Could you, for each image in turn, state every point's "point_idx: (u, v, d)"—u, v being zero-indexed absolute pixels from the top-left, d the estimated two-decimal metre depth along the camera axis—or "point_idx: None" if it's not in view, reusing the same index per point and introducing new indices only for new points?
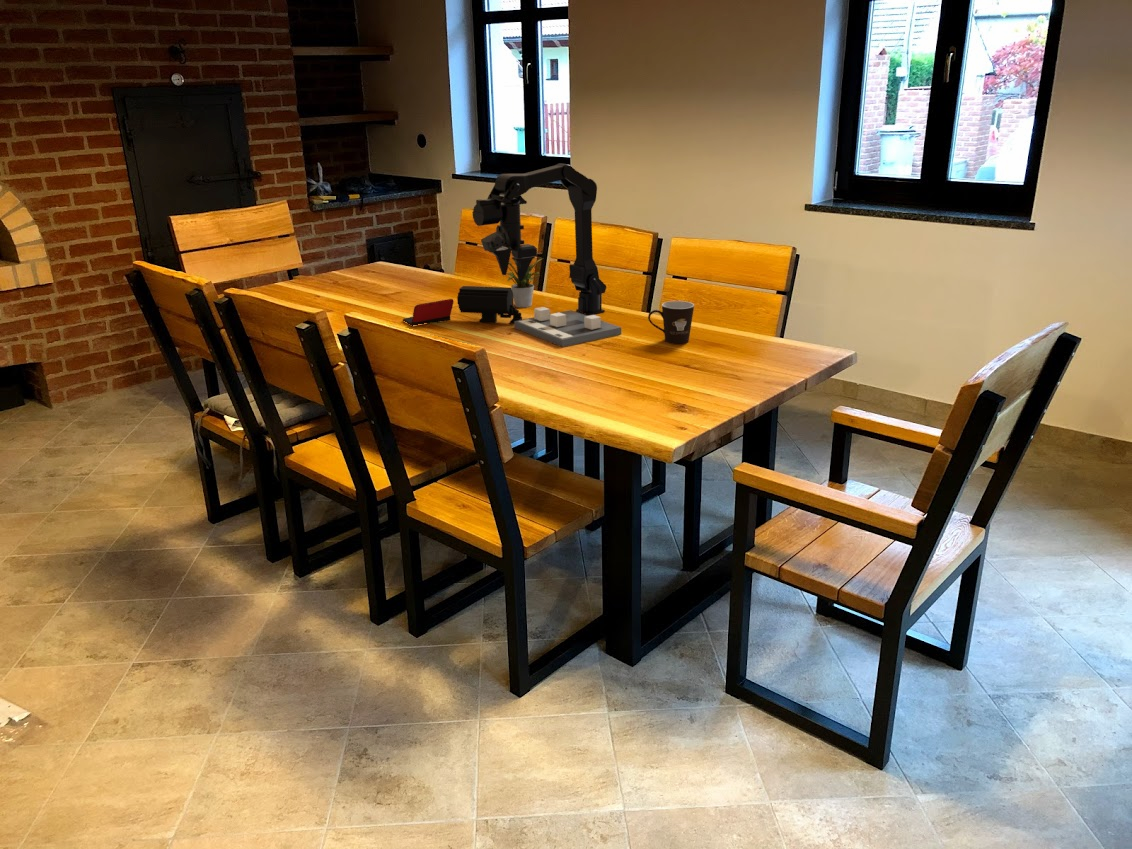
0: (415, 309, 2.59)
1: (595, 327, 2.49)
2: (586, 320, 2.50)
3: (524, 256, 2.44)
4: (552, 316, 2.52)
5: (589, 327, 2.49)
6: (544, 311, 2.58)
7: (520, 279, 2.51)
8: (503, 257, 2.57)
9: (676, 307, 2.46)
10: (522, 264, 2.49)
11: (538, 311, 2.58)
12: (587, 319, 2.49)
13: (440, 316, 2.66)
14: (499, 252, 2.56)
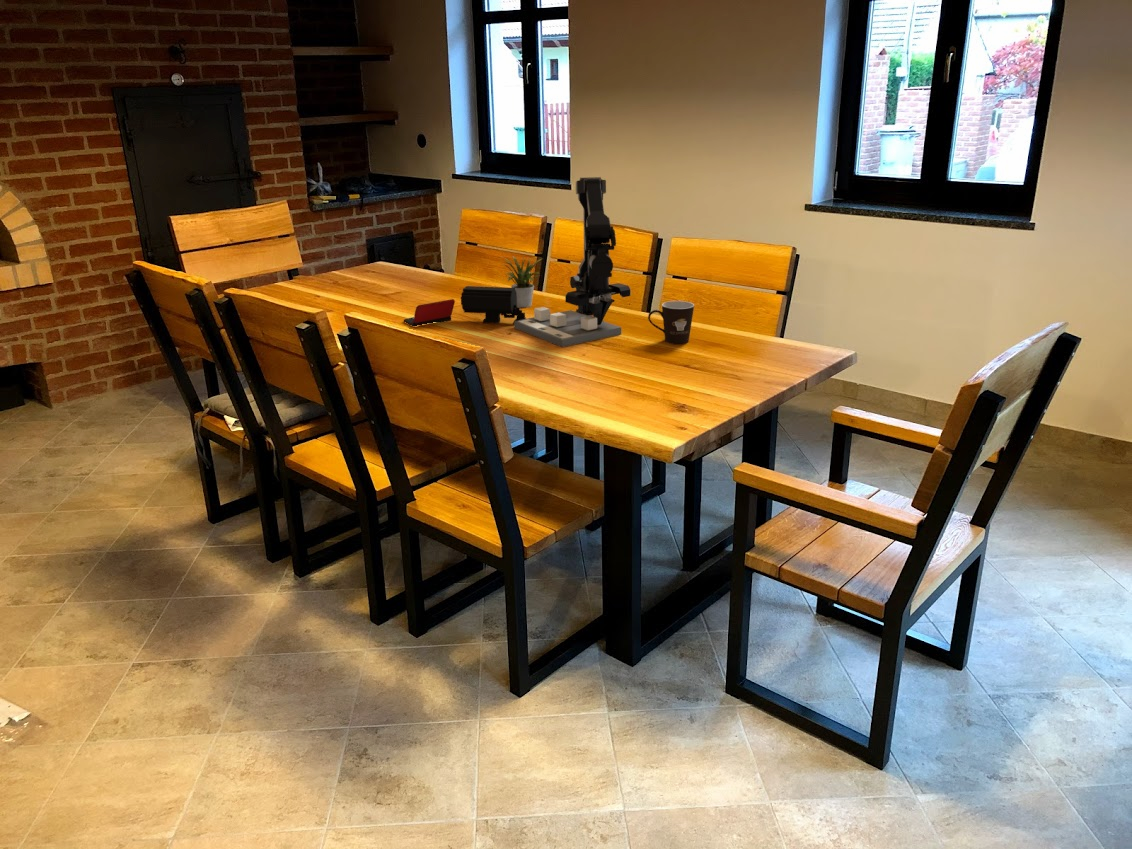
0: (417, 309, 2.58)
1: (592, 328, 2.49)
2: (582, 321, 2.49)
3: (568, 301, 2.45)
4: (552, 316, 2.52)
5: (586, 328, 2.49)
6: (544, 311, 2.58)
7: None
8: None
9: (676, 307, 2.46)
10: (594, 308, 2.49)
11: (538, 311, 2.58)
12: (583, 320, 2.49)
13: (441, 317, 2.66)
14: None
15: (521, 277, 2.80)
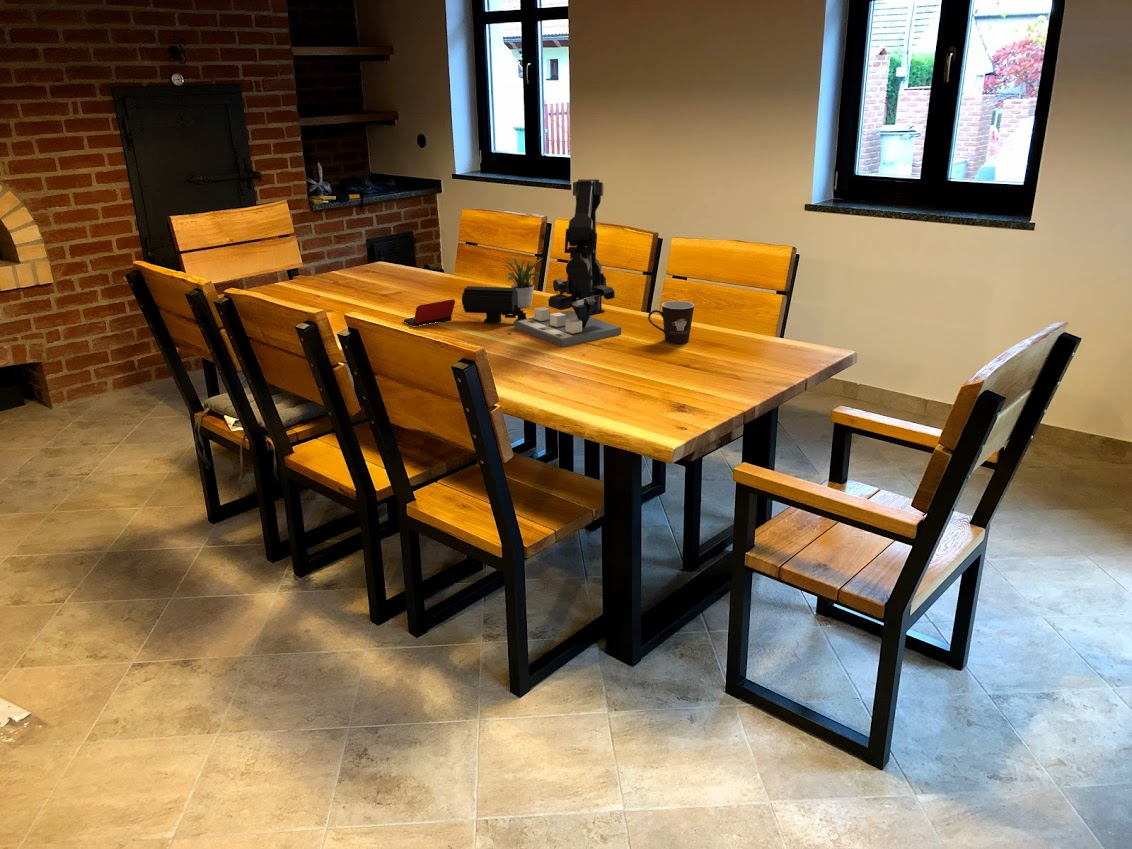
0: (417, 310, 2.58)
1: (576, 331, 2.46)
2: (567, 324, 2.46)
3: (551, 305, 2.42)
4: (552, 316, 2.52)
5: (570, 331, 2.46)
6: (544, 311, 2.58)
7: None
8: None
9: (676, 307, 2.46)
10: (579, 311, 2.46)
11: (538, 311, 2.58)
12: (568, 323, 2.46)
13: (442, 317, 2.66)
14: None
15: (521, 277, 2.80)
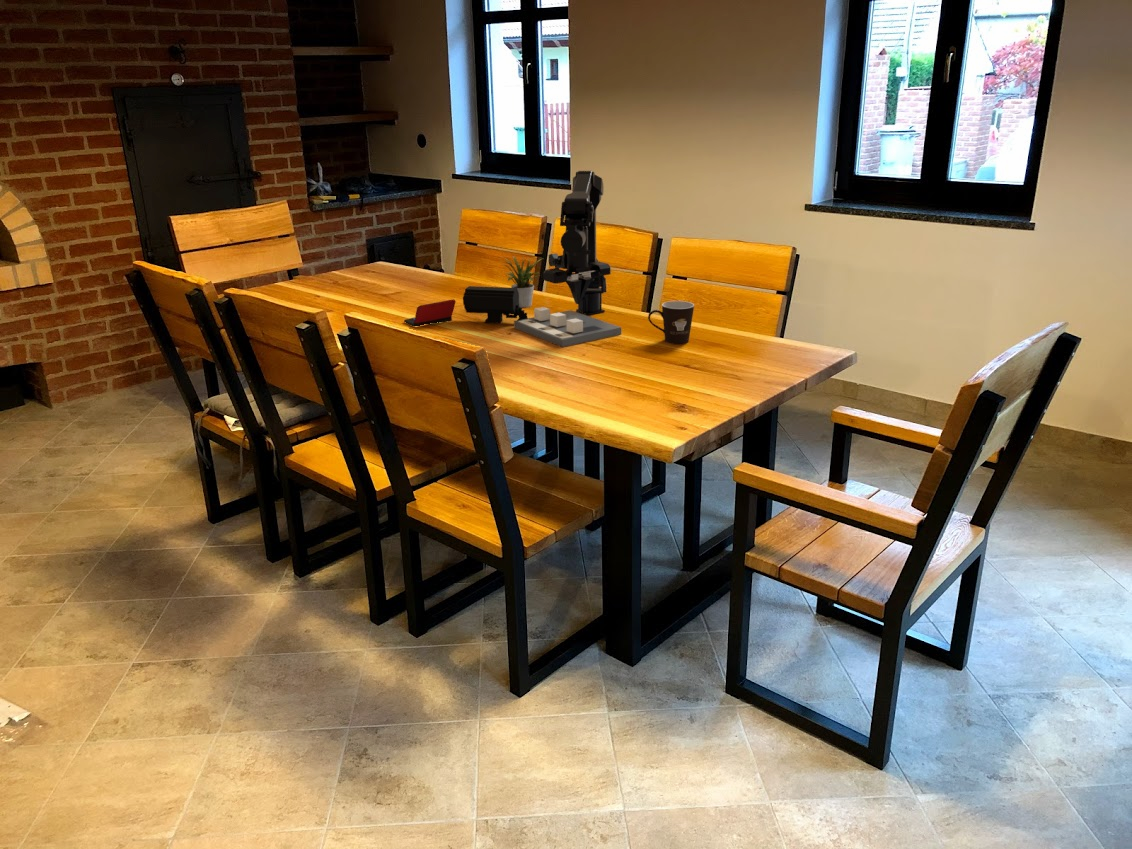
0: (418, 310, 2.58)
1: (577, 331, 2.46)
2: (568, 324, 2.47)
3: (545, 279, 2.39)
4: (552, 316, 2.52)
5: (571, 331, 2.46)
6: (544, 311, 2.58)
7: (575, 301, 2.45)
8: None
9: (676, 307, 2.46)
10: (573, 287, 2.43)
11: (538, 311, 2.58)
12: (569, 323, 2.46)
13: (442, 317, 2.66)
14: None
15: (521, 277, 2.80)
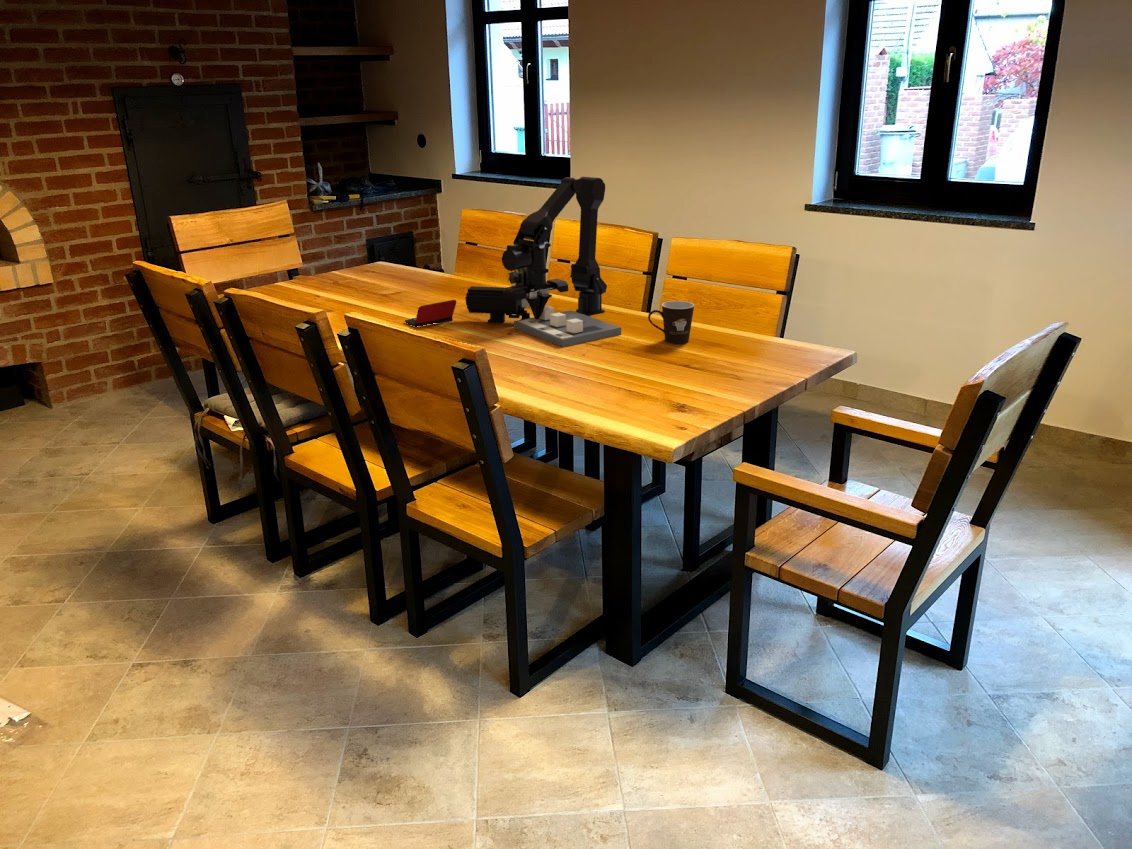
0: (419, 310, 2.57)
1: (577, 331, 2.46)
2: (568, 324, 2.47)
3: (505, 296, 2.52)
4: (552, 316, 2.52)
5: (571, 331, 2.46)
6: (548, 310, 2.58)
7: (534, 317, 2.59)
8: None
9: (676, 307, 2.46)
10: (532, 303, 2.56)
11: None
12: (569, 323, 2.46)
13: (443, 317, 2.65)
14: None
15: None
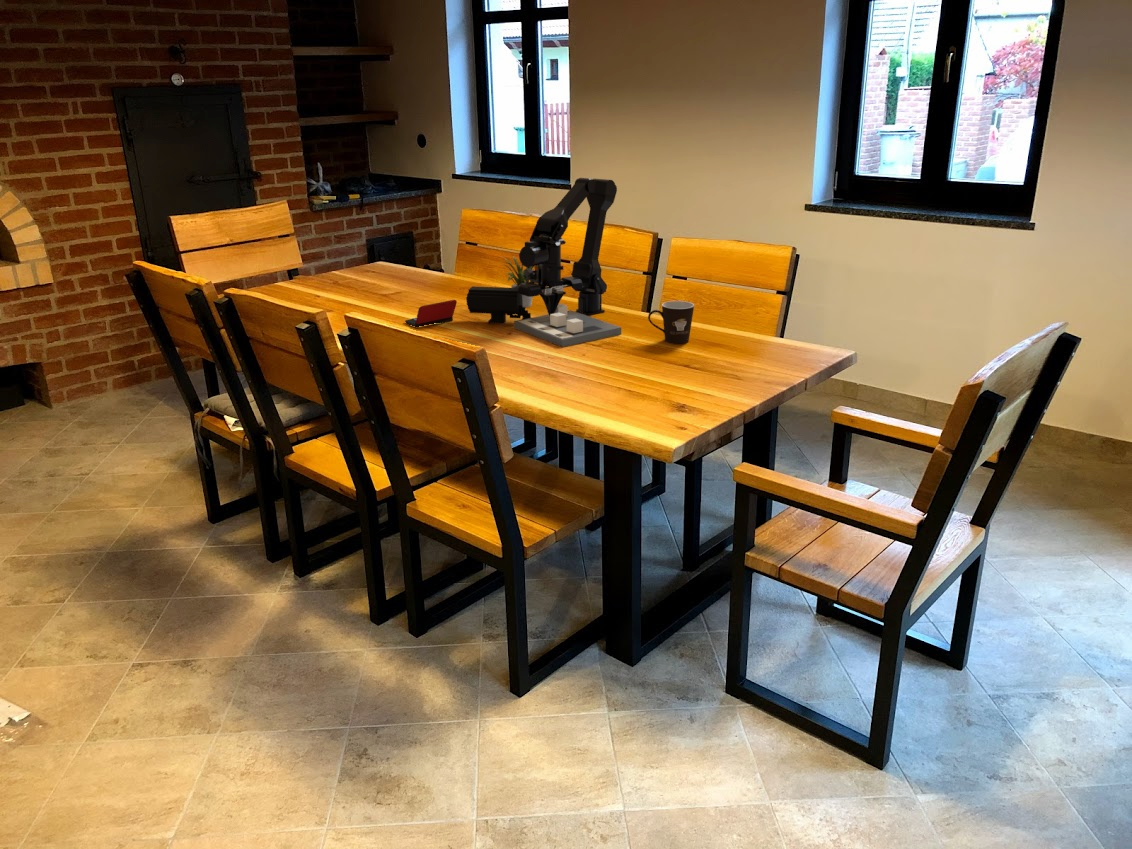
0: (419, 310, 2.57)
1: (577, 331, 2.46)
2: (568, 324, 2.47)
3: (520, 292, 2.55)
4: (552, 316, 2.52)
5: (571, 331, 2.46)
6: (562, 308, 2.61)
7: (549, 313, 2.61)
8: None
9: (676, 307, 2.46)
10: (547, 300, 2.59)
11: (556, 308, 2.61)
12: (569, 323, 2.46)
13: (443, 317, 2.65)
14: None
15: (521, 277, 2.80)
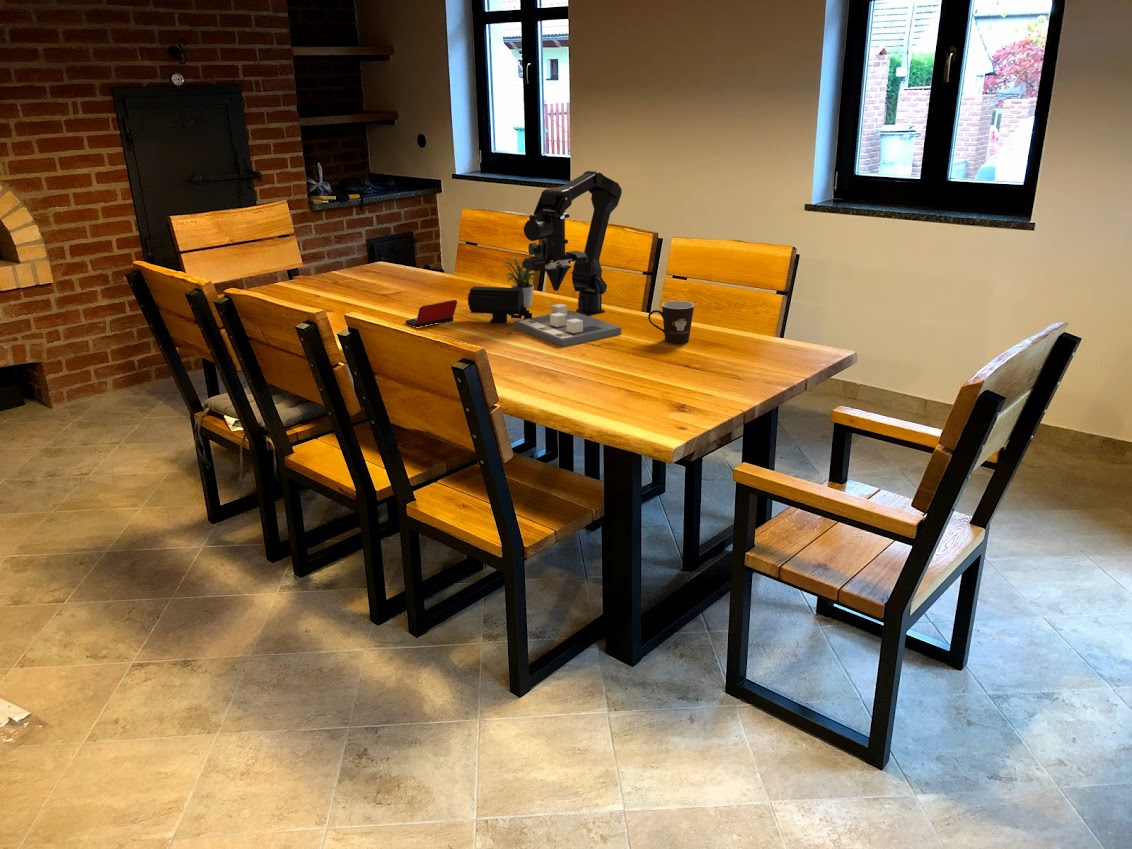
0: (420, 311, 2.57)
1: (577, 331, 2.46)
2: (568, 324, 2.47)
3: (525, 267, 2.53)
4: (552, 316, 2.52)
5: (571, 331, 2.46)
6: (561, 308, 2.61)
7: (553, 288, 2.59)
8: None
9: (676, 307, 2.46)
10: (551, 274, 2.57)
11: (555, 308, 2.61)
12: (569, 323, 2.46)
13: (444, 317, 2.65)
14: (555, 267, 2.58)
15: (521, 277, 2.80)
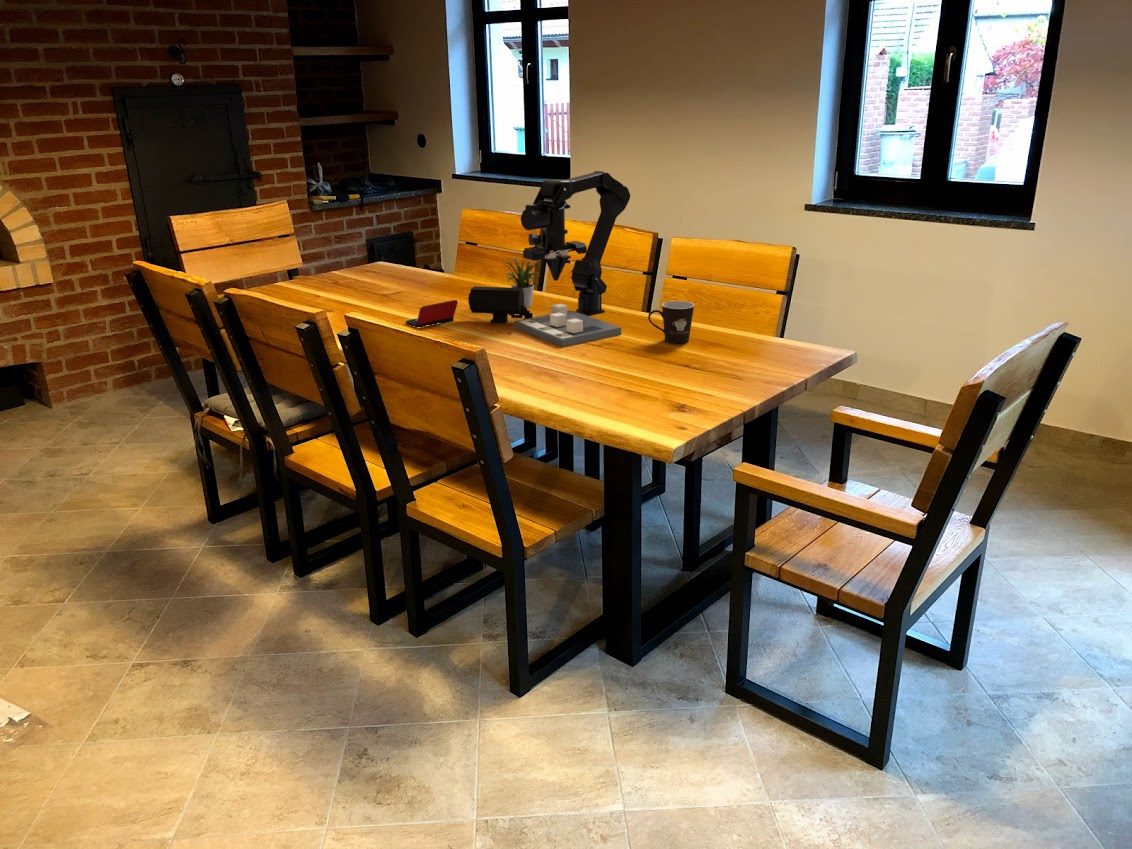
0: (421, 311, 2.57)
1: (577, 331, 2.46)
2: (568, 324, 2.47)
3: (525, 257, 2.55)
4: (552, 316, 2.52)
5: (571, 331, 2.46)
6: (561, 308, 2.61)
7: (553, 278, 2.62)
8: None
9: (676, 307, 2.46)
10: (551, 264, 2.60)
11: (555, 308, 2.61)
12: (569, 323, 2.46)
13: (444, 318, 2.65)
14: None
15: (521, 277, 2.80)
